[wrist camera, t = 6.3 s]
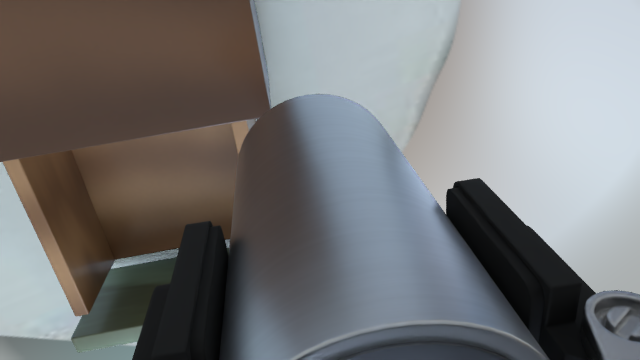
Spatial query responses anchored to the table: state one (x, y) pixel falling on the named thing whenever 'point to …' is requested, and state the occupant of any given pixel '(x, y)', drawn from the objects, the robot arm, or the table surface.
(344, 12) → the table surface
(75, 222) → the drawer
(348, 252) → the measuring cup
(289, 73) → the table surface
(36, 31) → the cabinet
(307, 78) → the table surface
